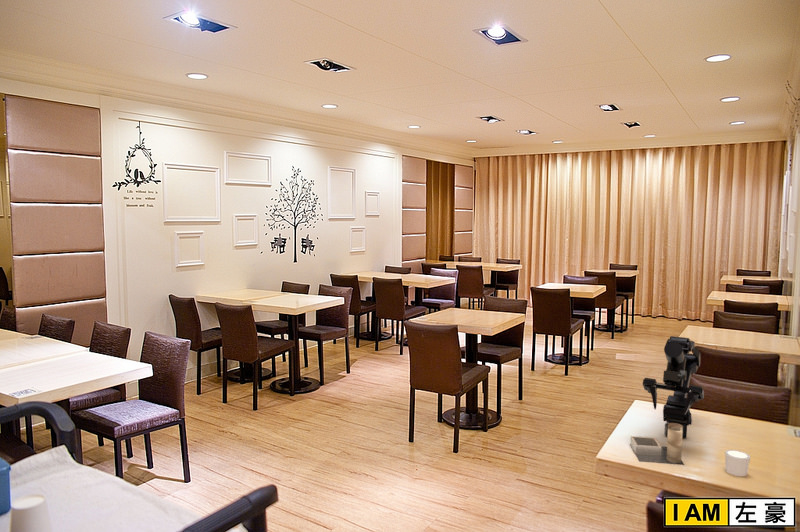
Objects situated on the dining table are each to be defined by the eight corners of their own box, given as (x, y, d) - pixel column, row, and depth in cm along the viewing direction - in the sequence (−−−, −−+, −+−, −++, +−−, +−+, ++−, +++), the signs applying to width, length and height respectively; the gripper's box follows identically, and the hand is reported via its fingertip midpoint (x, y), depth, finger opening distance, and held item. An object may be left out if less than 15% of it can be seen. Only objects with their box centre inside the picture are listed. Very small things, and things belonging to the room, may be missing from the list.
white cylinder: (748, 482, 172) (750, 460, 171) (723, 476, 176) (724, 455, 175) (748, 473, 178) (750, 452, 177) (724, 468, 182) (725, 447, 181)
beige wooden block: (678, 457, 187) (680, 423, 186) (682, 463, 183) (684, 428, 182) (664, 456, 188) (666, 422, 187) (668, 462, 184) (670, 427, 182)
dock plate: (672, 449, 196) (672, 438, 195) (684, 467, 182) (685, 456, 182) (629, 446, 198) (630, 436, 198) (638, 464, 185) (639, 452, 184)
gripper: (643, 356, 196) (636, 397, 190) (703, 364, 186) (698, 408, 179) (648, 369, 204) (641, 409, 198) (706, 377, 194) (700, 420, 187)
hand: (669, 411), depth 190 cm, fingers open, 9 cm apart
